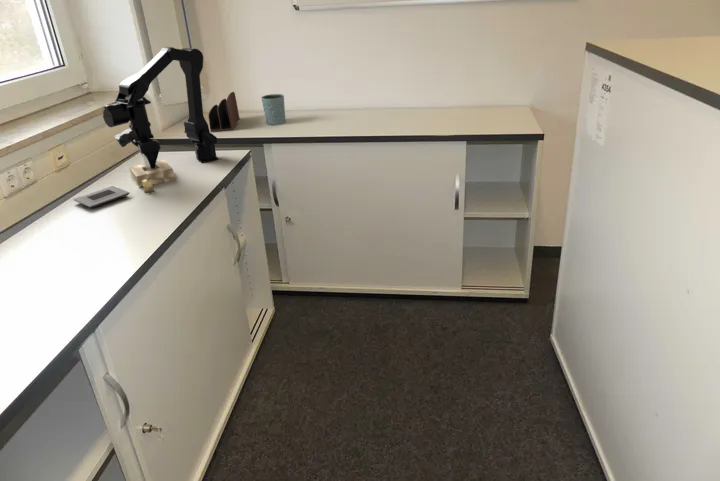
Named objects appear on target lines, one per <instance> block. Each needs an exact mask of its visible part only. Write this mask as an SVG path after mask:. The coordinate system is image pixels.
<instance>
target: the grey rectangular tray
mask: <svg viewBox="0 0 720 481" xmlns="http://www.w3.org/2000/svg"><path fill="white" fill-rule="evenodd" d="M129 194H130V192H129V191H127V190H125V189H121V188H120V187H117V186H113V185H112V186H108V187H105V188H102V189H100V190H96V191H93V192H90V193H88V194H84V195H82V196H79V197H76V198H73V201H75V202H76V203H78V204H81V205H84V206H85V207H88V208H90V209H94V208H97V207H98V206H102V205H104V204H107V203H111V202H112V201H116V200H118V199H121V198H123V197H127V196H129Z"/></svg>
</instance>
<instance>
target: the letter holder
mask: <svg viewBox="0 0 720 481" xmlns="http://www.w3.org/2000/svg"><path fill="white" fill-rule="evenodd" d="M207 117H208V123H209V124H208V125H209V131H210V133H216V132H217V133H218V132H232V131H234V129H235V127H236V126H237V124H238V123H239V121H240V115H239V108H238V102H237V98H236V92H234V91H231V92H230V93H229V94H228V95H227V98H223V99H222V100H221V101H220V102H219V104H215V105H213V106H212V107H211V109H210V110H209V112H208V116H207Z"/></svg>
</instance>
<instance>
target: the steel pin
mask: <svg viewBox="0 0 720 481" xmlns="http://www.w3.org/2000/svg"><path fill="white" fill-rule="evenodd" d="M141 155H143V156H142V159H143V162H144V163H143V164H145V167H146V171H148V170H153V169H152V168H151V167H150V164H149V162H148V160H147V158H146V155H144V154H141ZM154 169H155V168H154Z"/></svg>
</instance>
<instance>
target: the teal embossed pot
mask: <svg viewBox="0 0 720 481" xmlns="http://www.w3.org/2000/svg"><path fill="white" fill-rule="evenodd" d="M260 98H261V103H262V107H263V112H264V117H265V122H266V124H267V125H268V126H279V125H284V124H286V111H285V108H286V107H285V96H284V94H281V93H271V94H265V95H262V96H261V97H260Z"/></svg>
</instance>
